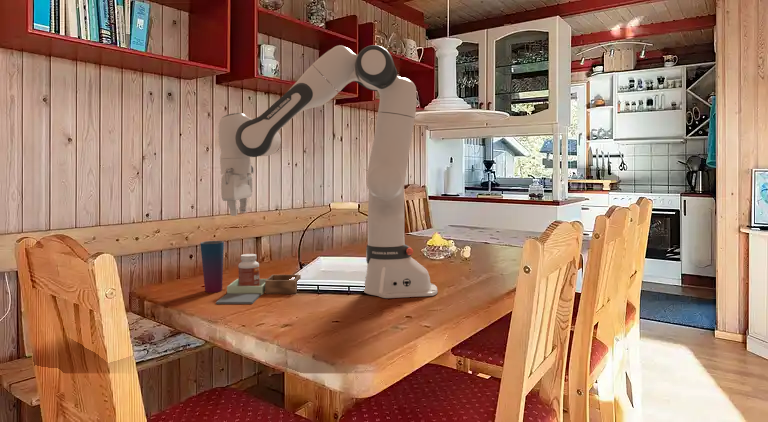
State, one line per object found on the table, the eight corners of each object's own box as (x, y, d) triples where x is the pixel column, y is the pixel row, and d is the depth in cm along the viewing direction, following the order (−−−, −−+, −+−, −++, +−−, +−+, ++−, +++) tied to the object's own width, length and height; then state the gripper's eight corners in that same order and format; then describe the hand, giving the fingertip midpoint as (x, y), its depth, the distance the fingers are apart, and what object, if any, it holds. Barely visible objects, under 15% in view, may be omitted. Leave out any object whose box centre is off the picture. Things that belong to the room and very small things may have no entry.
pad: (260, 295, 158) (260, 293, 158) (252, 304, 148) (252, 301, 148) (227, 295, 158) (227, 293, 158) (216, 304, 148) (216, 301, 148)
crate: (300, 287, 168) (300, 274, 168) (295, 294, 159) (295, 280, 159) (272, 287, 168) (271, 274, 168) (265, 294, 159) (265, 280, 159)
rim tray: (270, 286, 169) (270, 278, 169) (262, 294, 158) (262, 286, 158) (237, 286, 169) (237, 279, 169) (227, 294, 158) (226, 286, 158)
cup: (218, 293, 160) (216, 244, 158) (197, 292, 161) (195, 243, 160) (229, 288, 166) (227, 240, 165) (209, 287, 168) (207, 240, 166)
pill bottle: (258, 292, 161) (257, 256, 160) (237, 293, 160) (236, 256, 159) (261, 288, 167) (260, 253, 166) (241, 288, 166) (240, 253, 166)
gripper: (236, 168, 150) (239, 217, 151) (254, 167, 170) (257, 211, 172) (213, 168, 150) (217, 217, 151) (235, 168, 171) (238, 211, 172)
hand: (238, 214), depth 162 cm, fingers open, 8 cm apart
